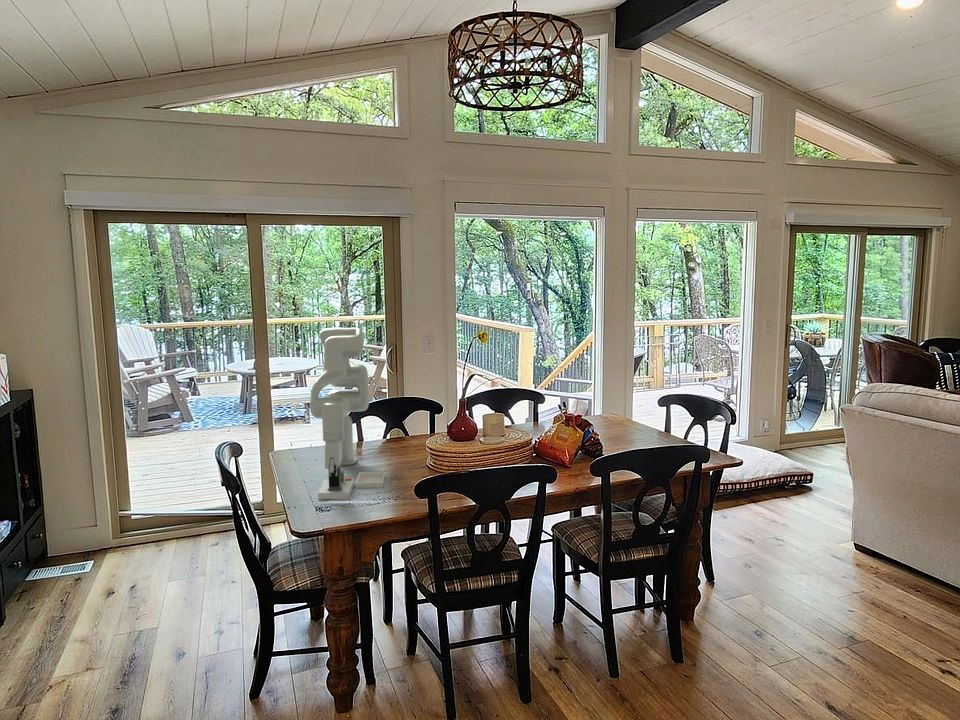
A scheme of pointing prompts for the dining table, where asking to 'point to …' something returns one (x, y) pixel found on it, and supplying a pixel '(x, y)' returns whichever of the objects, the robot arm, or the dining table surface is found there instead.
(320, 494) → the socket strip
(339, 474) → the plug
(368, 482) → the tray
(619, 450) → the dining table surface
